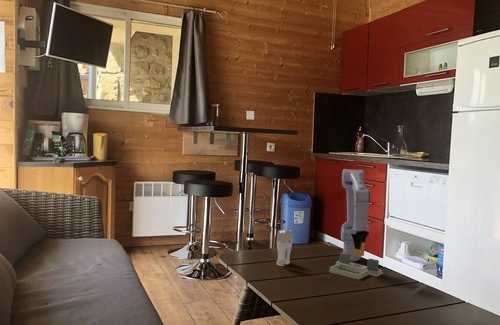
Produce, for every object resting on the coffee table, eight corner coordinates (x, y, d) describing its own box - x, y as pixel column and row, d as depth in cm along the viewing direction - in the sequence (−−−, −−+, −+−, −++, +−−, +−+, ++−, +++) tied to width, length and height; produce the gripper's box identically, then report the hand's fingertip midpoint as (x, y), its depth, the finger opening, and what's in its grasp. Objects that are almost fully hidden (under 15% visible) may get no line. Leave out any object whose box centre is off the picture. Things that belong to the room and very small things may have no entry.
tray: (339, 270, 181) (339, 263, 181) (368, 277, 173) (368, 270, 173) (329, 274, 174) (329, 267, 174) (358, 282, 166) (359, 274, 166)
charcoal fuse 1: (341, 264, 187) (342, 252, 187) (349, 266, 184) (350, 254, 184) (339, 265, 185) (339, 253, 185) (347, 267, 182) (348, 255, 182)
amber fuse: (355, 253, 182) (356, 241, 182) (363, 255, 180) (364, 242, 179) (352, 254, 180) (353, 241, 180) (361, 256, 178) (362, 243, 178)
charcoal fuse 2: (369, 271, 179) (369, 258, 178) (378, 273, 176) (378, 260, 176) (366, 272, 177) (367, 259, 177) (375, 274, 174) (376, 261, 174)
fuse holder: (340, 264, 190) (341, 259, 190) (383, 275, 177) (383, 269, 177) (333, 267, 184) (333, 262, 184) (376, 278, 172) (377, 272, 171)
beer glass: (272, 264, 184) (274, 231, 183) (279, 261, 190) (280, 229, 190) (287, 267, 181) (289, 233, 180) (293, 264, 187) (295, 231, 186)
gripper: (362, 220, 171) (360, 252, 172) (376, 216, 182) (374, 247, 183) (346, 217, 176) (344, 249, 176) (361, 214, 187) (359, 244, 187)
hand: (358, 248), depth 180 cm, fingers closed on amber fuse, 2 cm apart
